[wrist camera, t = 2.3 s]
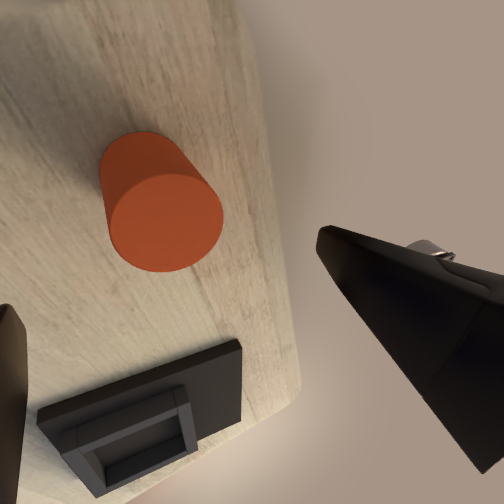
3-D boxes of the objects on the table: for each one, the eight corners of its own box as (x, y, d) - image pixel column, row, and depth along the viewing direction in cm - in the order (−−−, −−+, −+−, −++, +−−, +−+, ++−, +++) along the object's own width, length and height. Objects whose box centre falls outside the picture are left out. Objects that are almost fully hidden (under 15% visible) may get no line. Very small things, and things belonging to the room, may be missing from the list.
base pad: (237, 338, 25) (250, 363, 23) (237, 412, 32) (247, 435, 30) (37, 410, 20) (33, 449, 18) (90, 478, 27) (91, 511, 25)
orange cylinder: (184, 127, 14) (222, 165, 10) (191, 206, 16) (225, 258, 13) (87, 135, 13) (93, 183, 9) (111, 220, 15) (123, 284, 11)
